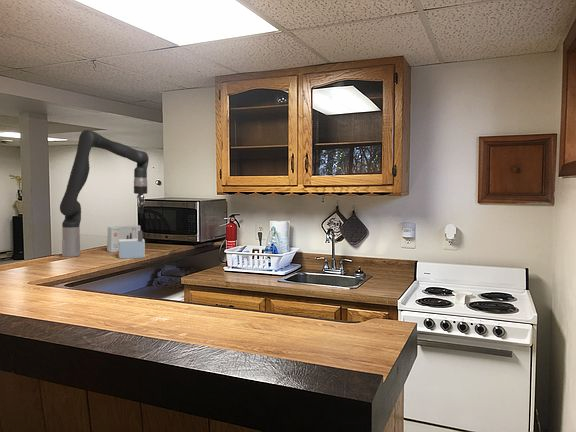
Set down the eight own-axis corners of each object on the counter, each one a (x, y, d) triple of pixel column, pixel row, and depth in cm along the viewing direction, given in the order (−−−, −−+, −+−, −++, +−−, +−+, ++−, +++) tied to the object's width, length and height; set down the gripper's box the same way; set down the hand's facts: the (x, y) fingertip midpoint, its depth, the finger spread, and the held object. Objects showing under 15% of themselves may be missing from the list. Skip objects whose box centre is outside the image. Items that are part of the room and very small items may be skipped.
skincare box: (111, 252, 277) (111, 227, 276) (106, 251, 280) (106, 226, 279) (140, 249, 293) (140, 225, 292) (136, 248, 297) (135, 224, 296)
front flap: (119, 258, 255) (119, 231, 254) (119, 258, 256) (119, 231, 255) (144, 257, 260) (144, 230, 259) (144, 257, 261) (144, 230, 260)
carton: (119, 258, 256) (119, 241, 255) (118, 255, 265) (118, 239, 264) (144, 257, 261) (144, 240, 260) (143, 254, 270) (143, 238, 270)
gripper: (132, 185, 263) (133, 212, 264) (134, 185, 250) (135, 214, 251) (146, 185, 266) (146, 212, 267) (148, 185, 253) (148, 214, 254)
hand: (140, 213), depth 259 cm, fingers open, 8 cm apart
